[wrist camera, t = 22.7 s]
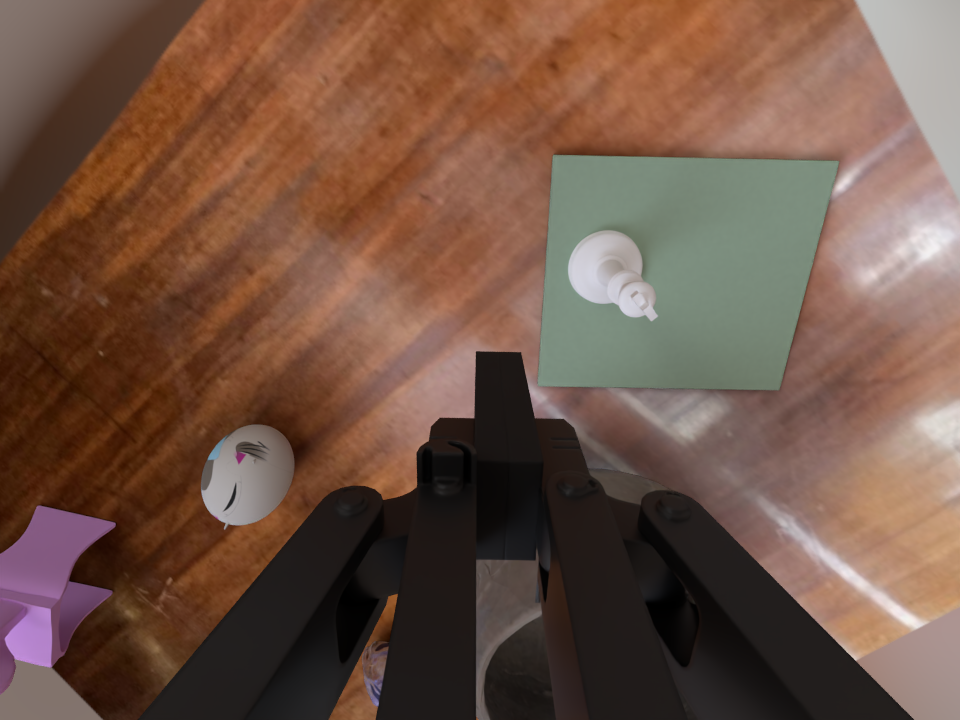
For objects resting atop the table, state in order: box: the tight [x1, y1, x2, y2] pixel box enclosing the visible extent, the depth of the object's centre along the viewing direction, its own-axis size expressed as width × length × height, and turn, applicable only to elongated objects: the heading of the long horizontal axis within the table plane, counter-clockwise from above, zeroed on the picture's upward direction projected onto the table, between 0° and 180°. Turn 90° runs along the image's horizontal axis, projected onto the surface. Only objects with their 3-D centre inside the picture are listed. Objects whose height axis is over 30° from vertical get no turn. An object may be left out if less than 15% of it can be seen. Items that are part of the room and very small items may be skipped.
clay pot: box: [476, 469, 698, 720], centre depth 38 cm, size 21×21×15 cm
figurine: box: [201, 425, 294, 529], centre depth 38 cm, size 8×6×7 cm
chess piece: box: [568, 230, 658, 321], centre depth 31 cm, size 5×5×10 cm
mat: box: [537, 155, 839, 390], centre depth 36 cm, size 16×18×1 cm
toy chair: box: [0, 506, 116, 694], centre depth 38 cm, size 8×9×15 cm
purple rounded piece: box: [362, 641, 389, 707], centre depth 48 cm, size 12×8×6 cm, turn 15°
